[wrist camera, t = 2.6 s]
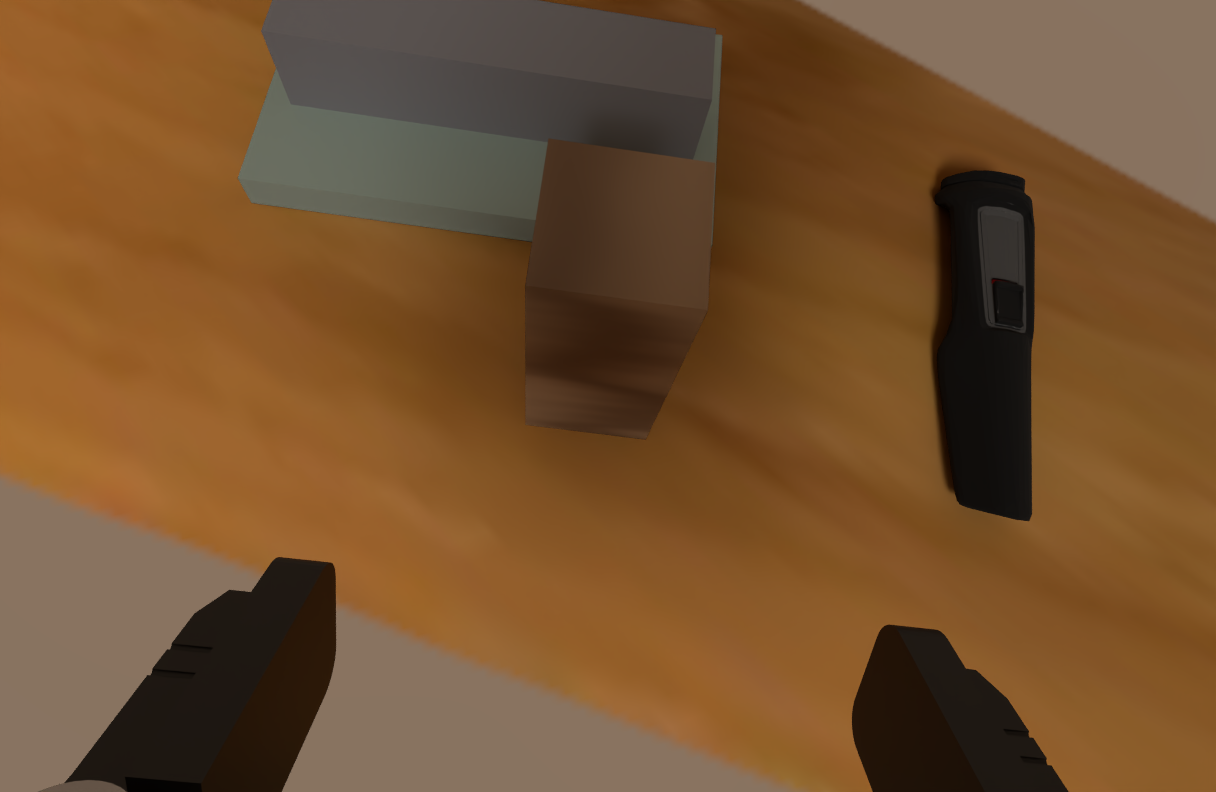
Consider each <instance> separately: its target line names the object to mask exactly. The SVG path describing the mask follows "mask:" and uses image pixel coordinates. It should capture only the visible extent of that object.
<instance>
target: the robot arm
mask: <svg viewBox="0 0 1216 792" xmlns="http://www.w3.org/2000/svg"><path fill="white" fill-rule="evenodd" d="M335 654H336V576H335V568H334V565H333V564H332V563H329V562H320V561H311V560H301V559H292V558H283V557H278V558H276V559H274V560H273V561H272V563H271V564H270V565H269V567H268V568H267V570H266V571H265V573H264V574H263V576H262V577H261V578H260V580H259V581H258V583H257V584H256V586H255V587H254V589H253V590H252V592H245V591H235V590H228V591H227V592H226V593H224V594H223V595H221V596H220V597H218V598H217V599H216V600H214V601H212V602H211V603H210V604H208V605H206V606H205V607H203V608H202V609H201V610H199V611H198V612H196V613H195V614H194V615H193V616H192V618H191V619H190V620H189V621H188V623H187V624H186V626H185V627H184V628H183V629H182V631H181V632H180V633H179V635H178V636H177V637H176V639H175V640H174V641H173V642H172V646H171V649H170V650H166V652H165V653H164V654H163V656H162V657H161V659H160V660H159V661H158V662H157V663H156V665H155V666H154V667H153V670H152V674H151V675H147V677H146V678H145V679H144V680H143V682H142V683H141V684H140V686H139V687H138V688H137V690H136V691H135V692H134V694H133V695H132V696H131V698H130V699H129V700H128V702H127V703H126V704H125V705H124V707H123V708H122V709H121V711H120V712H119V713H118V715H117V716H116V717H115V718H114V720H113V721H112V722H111V724H110V725H109V726H108V728H107V729H106V731H105V732H104V733H103V734H102V735H101V737H100V738H99V739H98V741H97V742H96V743H95V745H94V746H93V747H92V749H91V750H90V751H89V753H88V754H87V755H86V756H85V758H84V759H83V760H82V762H81V763H80V764H79V766H78V767H77V768H76V770H75V771H74V772H73V774H72V775H71V776H70V777H69V778H68V779H67V781H66V782H65V783H63V784H59V785H56V786H53V787H50V788H47V789H44V790H42V791H39V792H282V790H283V787H284V785H285V783H286V781H287V779H288V776H289V774H290V772H291V769H292V767H293V765H294V763H295V761H296V759H297V756H298V754H299V752H300V750H301V747H302V745H303V743H304V741H305V738H306V736H307V734H308V732H309V730H310V727H311V725H312V723H313V721H314V719H315V716H316V714H317V712H318V710H319V707H320V705H321V703H322V701H323V699H324V696H325V694H326V691H327V689H328V686H329V683H330V679H331V676H332V672H333V667H334V661H335ZM852 730H853V737H854V742H855V745H856V748H857V751H858V754H859V756H860V759H861V762H862V764H863V767H864V770H865V772H866V775H867V777H868V780H869V783H870V785H871V788H872V791H873V792H1068V790H1067V789H1066V787H1065V786H1064V784H1063V783H1062V781H1061V780H1060V778H1059V777H1058V775H1057V774H1056V772H1055V771H1054V769H1053V767H1052V766H1050V765H1047V763H1046V759H1047V758H1046V757H1045V755H1044V754H1043V752H1042V751H1041V749H1040V748H1039V746H1038V745H1037V743H1036V742H1035V740H1034V738H1030V737H1029V734H1028V733H1029V731H1028V729H1027V728H1026V726H1025V725H1024V723H1023V722H1022V720H1021V719H1020V717H1019V716H1018V714H1017V713H1016V711H1015V710H1014V708H1013V706H1012V705H1011V703H1010V702H1009V700H1008V699H1007V698H1006V697H1005V696H1004V695H1003V694H1002V693H1000V692H999V691H998V690H997V689H996V688H995V687H994V686H993V685H992V684H991V683H989V682H988V681H987V680H986V679H985V678H984V677H983V676H982V675H981V674H980V673H979V672H977V671H976V670H971V669H966V668H965V667H964V665H963V663H962V662H961V660H960V659H959V657H958V655H957V654H956V652H955V650H954V649H953V647H952V646H951V644H950V642H949V641H948V639H947V638H946V636H945V635H944V634H943V633H942V632H940V631H939V630H934V629H925V628H915V627H906V626H897V625H886V626H884V627H883V628H882V629H881V630H880V632H879V634H878V636H877V639H876V642H875V645H874V647H873V650H872V653H871V656H870V659H869V661H868V664H867V667H866V670H865V672H864V675H863V678H862V681H861V684H860V686H859V689H858V692H857V695H856V698H855V701H854V705H853V711H852Z"/></svg>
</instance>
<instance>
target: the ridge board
mask: <svg viewBox="0 0 1216 792" xmlns="http://www.w3.org/2000/svg"><path fill="white" fill-rule="evenodd" d="M261 31H262V34H263V36H264V39H265V41H266V44H267V46H268V49H269V51H270V54H271V56H272V59H273V61H274V64H275V66H276V70H275V73H274V76H273V79H272V82H271V84H270V87H269V90H268V93H267V96H266V99H265V102H264V105H263V107H262V110H261V113H260V116H259V119H258V122H257V125H256V128H255V130H254V133H253V136H252V139H251V142H250V145H249V148H248V150H247V153H246V156H245V159H244V162H243V165H242V168H241V171H240V173H239V176H238V179H239V181H240V183H241V185H242V187H243V188H244V190H245V192H246V194H247V195H248V197H249V199H250V201H251V202H252V203H257V204H264V205H271V206H279V207H286V208H293V209H300V210H307V211H315V212H322V213H329V214H336V215H343V216H350V217H358V218H365V219H372V220H379V221H386V222H394V223H401V224H408V225H415V226H422V227H430V228H437V229H444V230H451V231H458V232H466V233H473V234H480V235H487V236H494V237H502V238H509V239H516V240H523V241H530V242H532V240H533V234H534V227H535V221H536V215H537V208H538V202H539V195H540V189H541V183H542V176H543V170H544V164H545V157H546V151H547V145H548V138H549V139H556V140H563V141H570V142H576V143H583V144H590V145H597V146H604V147H610V148H617V149H624V150H631V151H638V152H644V153H651V154H658V155H665V156H671V157H678V158H685V159H692V160H699V161H705V162H712V163H715V176H714V197H713V217H712V237H711V247H712V240H713V219H714V199H715V178H716V157H717V137H718V116H719V95H720V75H721V54H722V35H717V34H716V29H714V28H708V27H702V26H695V25H689V24H683V23H677V22H670V21H664V20H658V19H652V18H645V17H639V16H633V15H626V14H620V13H614V12H608V11H601V10H595V9H589V8H582V7H576V6H570V5H564V4H557V3H551V2H545V1H538V0H272V3H271V6H270V8H269V11H268V14H267V17H266V19H265V22H264V25H263V27H262V30H261Z"/></svg>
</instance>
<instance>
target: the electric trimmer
mask: <svg viewBox="0 0 1216 792" xmlns="http://www.w3.org/2000/svg"><path fill="white" fill-rule="evenodd" d="M1024 189H1025V180H1024V179H1023V178H1021V177H1019V176H1015V175H1011V174H1007V173H1002V172H996V171H970V172H965V173H960V174H956V175H952V176H949V177H946V178H945V179H943V180H942V182H941V191H939V192H938V193H937V194H936V195H935V203H936V204H937V205H940V206H943V207H945V208H947V209H948V210H949V212H950V219H951V268H952V321H951V324H950V326H949V329H948V331H947V334H946V336H945V338H944V340H943V342H942V344H941V345H940V347H939V349H938V354H937V364H938V378H939V385H940V392H941V399H942V406H943V413H944V420H945V427H946V434H947V441H948V448H949V455H950V462H951V469H952V476H953V483H954V490H955V495H956V499H957V501H958V502H959V504H960V505H962V506H965V507H968V508H971V509H975V510H979V511H983V512H987V513H991V514H995V515H999V516H1003V517H1007V518H1011V519H1015V520H1023V521H1029V520H1030V518H1031V515H1032V455H1031V348H1032V340H1033V332H1034V259H1035V227H1034V218H1033V207H1032V200H1031V198H1030V197H1029V196H1028V195H1026V194H1025V193H1024Z"/></svg>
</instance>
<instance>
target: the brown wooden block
mask: <svg viewBox="0 0 1216 792" xmlns="http://www.w3.org/2000/svg"><path fill="white" fill-rule="evenodd" d="M714 176H715V163H712V162H705V161H699V160H692V159H685V158H678V157H671V156H665V155H658V154H651V153H644V152H638V151H631V150H624V149H617V148H610V147H604V146H597V145H590V144H583V143H576V142H570V141H563V140H556V139H549V138H548V145H547V151H546V157H545V164H544V170H543V176H542V183H541V189H540V195H539V202H538V208H537V215H536V221H535V227H534V234H533V240H532V246H531V253H530V259H529V265H528V272H527V278H526V285H525V359H526V425H532V426H540V427H548V428H557V429H565V430H573V431H581V432H589V433H597V434H605V435H613V436H621V437H629V438H637V439H646V437H647V435H648V433H649V431H650V429H651V427H652V425H653V423H654V421H655V419H656V417H657V415H658V413H659V411H660V408H661V406H662V404H663V402H664V400H665V398H666V396H667V394H668V392H669V390H670V388H671V386H672V384H673V381H674V379H675V377H676V375H677V373H678V371H679V369H680V367H681V365H682V363H683V361H684V359H685V357H686V355H687V352H688V350H689V348H690V346H691V344H692V342H693V340H694V338H695V336H696V334H697V332H698V330H699V328H700V326H701V323H702V321H703V319H704V317H705V315H706V313H707V311H708V298H709V278H710V258H711V237H712V217H713V197H714Z"/></svg>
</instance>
